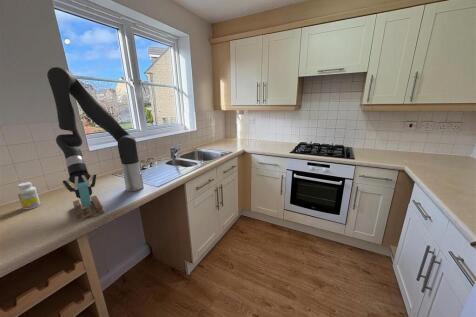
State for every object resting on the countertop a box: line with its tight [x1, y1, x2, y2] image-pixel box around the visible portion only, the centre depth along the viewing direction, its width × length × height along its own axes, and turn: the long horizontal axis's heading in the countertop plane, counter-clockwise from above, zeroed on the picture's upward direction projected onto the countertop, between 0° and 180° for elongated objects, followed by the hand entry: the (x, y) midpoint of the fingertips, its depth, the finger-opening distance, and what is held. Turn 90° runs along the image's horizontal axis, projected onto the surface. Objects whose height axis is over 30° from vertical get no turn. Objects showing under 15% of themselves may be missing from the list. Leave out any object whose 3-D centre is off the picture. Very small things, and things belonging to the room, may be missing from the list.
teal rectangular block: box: [77, 182, 92, 207], centre depth 97 cm, size 4×5×11 cm, turn 43°
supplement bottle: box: [16, 181, 41, 210], centre depth 102 cm, size 7×7×13 cm
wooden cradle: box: [72, 194, 105, 222], centre depth 99 cm, size 10×17×4 cm, turn 43°
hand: (85, 196), depth 96 cm, fingers closed on teal rectangular block, 3 cm apart
